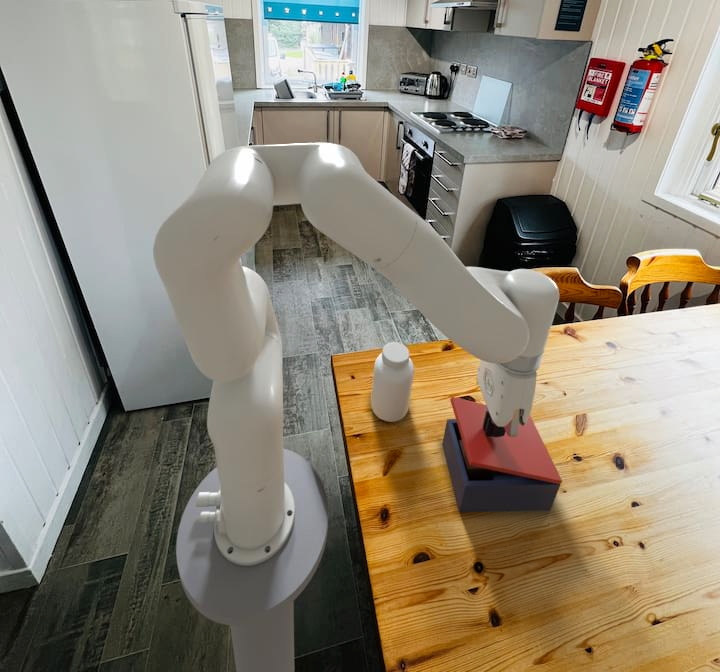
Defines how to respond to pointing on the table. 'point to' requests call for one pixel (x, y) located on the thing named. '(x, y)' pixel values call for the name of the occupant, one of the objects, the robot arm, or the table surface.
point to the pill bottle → (392, 382)
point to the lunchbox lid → (503, 445)
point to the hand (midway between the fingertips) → (493, 431)
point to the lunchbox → (493, 484)
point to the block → (475, 468)
